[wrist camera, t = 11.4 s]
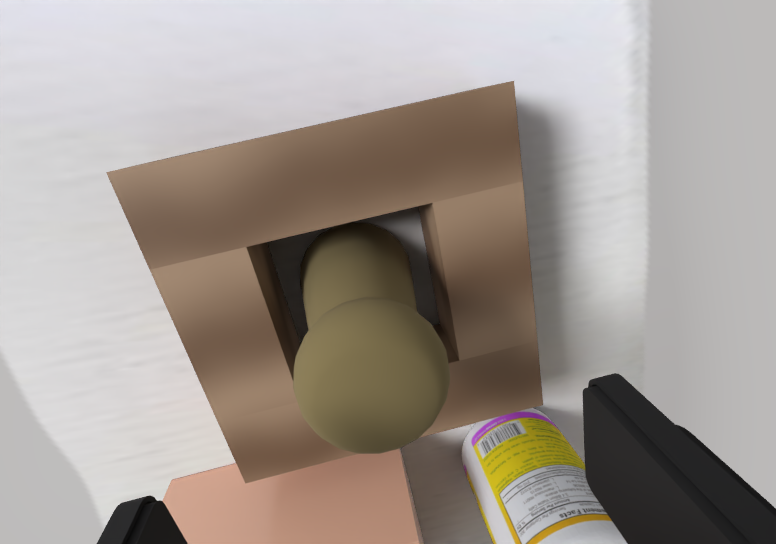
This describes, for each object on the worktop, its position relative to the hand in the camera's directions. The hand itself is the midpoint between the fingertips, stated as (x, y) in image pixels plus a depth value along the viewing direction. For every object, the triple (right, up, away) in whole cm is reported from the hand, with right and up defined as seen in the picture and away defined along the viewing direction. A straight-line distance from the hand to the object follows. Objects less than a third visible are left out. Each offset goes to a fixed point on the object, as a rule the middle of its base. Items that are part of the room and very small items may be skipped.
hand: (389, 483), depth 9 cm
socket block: (-2, +4, +14) cm, 14 cm away
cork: (-2, +4, +14) cm, 15 cm away
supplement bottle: (+8, -7, +19) cm, 22 cm away
